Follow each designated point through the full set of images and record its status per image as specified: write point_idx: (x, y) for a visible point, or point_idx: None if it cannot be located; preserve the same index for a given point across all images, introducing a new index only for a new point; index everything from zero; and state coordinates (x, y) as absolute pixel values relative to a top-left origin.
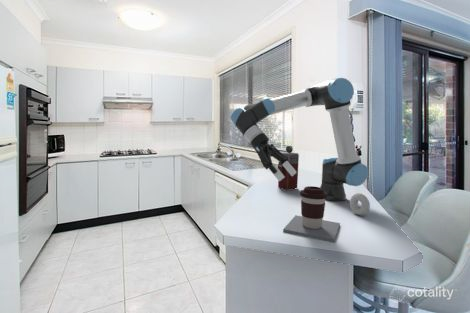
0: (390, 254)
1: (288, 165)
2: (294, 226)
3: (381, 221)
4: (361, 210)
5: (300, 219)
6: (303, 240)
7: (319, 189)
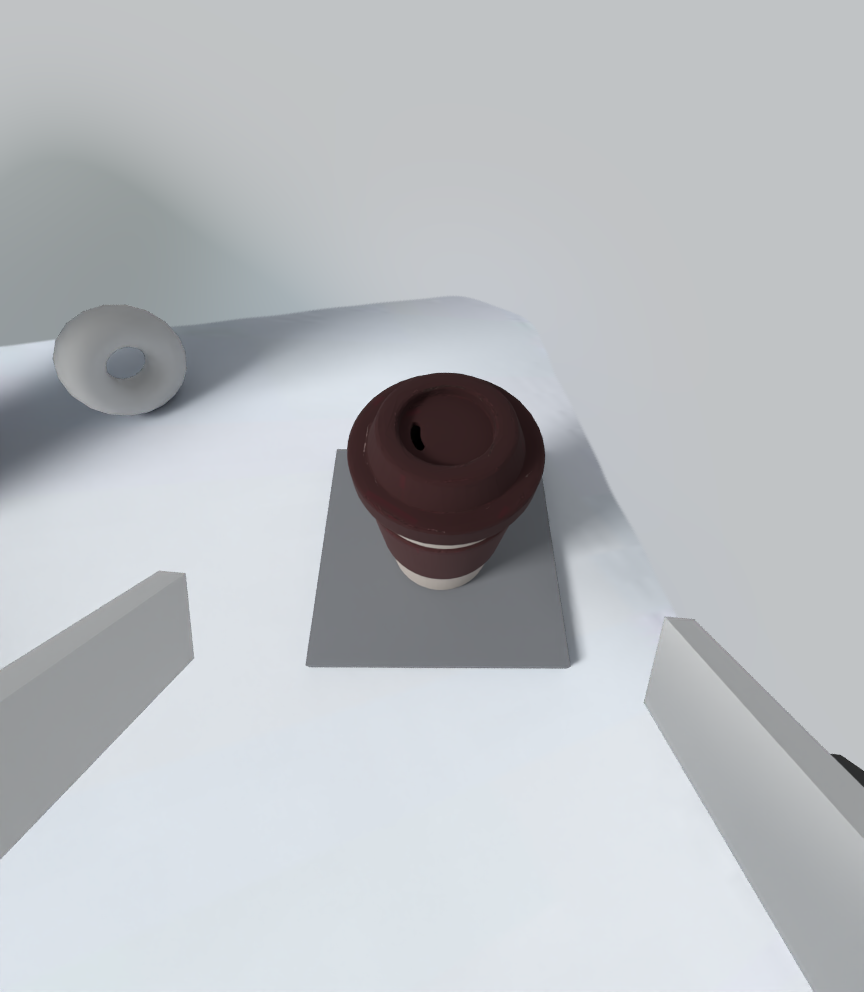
0: (518, 335)
1: (25, 721)
2: (496, 621)
3: (223, 341)
4: (176, 371)
5: (370, 618)
6: (596, 555)
7: (469, 386)
